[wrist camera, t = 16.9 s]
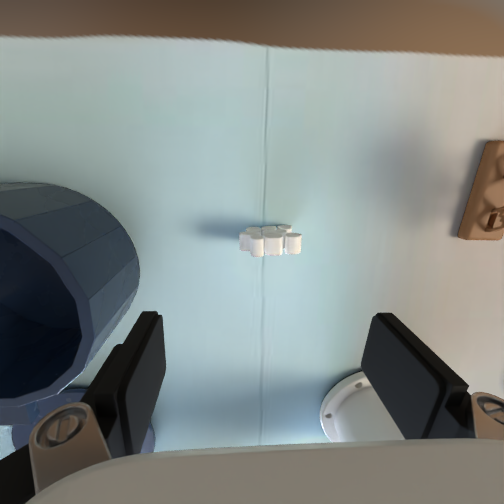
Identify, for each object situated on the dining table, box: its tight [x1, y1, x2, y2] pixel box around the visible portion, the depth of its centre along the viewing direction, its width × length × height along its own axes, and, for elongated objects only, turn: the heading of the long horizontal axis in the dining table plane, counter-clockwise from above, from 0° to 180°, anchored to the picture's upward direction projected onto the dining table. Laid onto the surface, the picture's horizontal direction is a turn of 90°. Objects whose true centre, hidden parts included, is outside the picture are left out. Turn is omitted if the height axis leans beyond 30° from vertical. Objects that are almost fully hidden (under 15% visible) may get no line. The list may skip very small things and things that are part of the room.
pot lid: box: [12, 389, 155, 454], centre depth 27 cm, size 16×16×7 cm
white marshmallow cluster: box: [239, 225, 302, 257], centre depth 21 cm, size 5×1×4 cm, turn 91°
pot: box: [0, 183, 140, 425], centre depth 19 cm, size 15×20×8 cm
